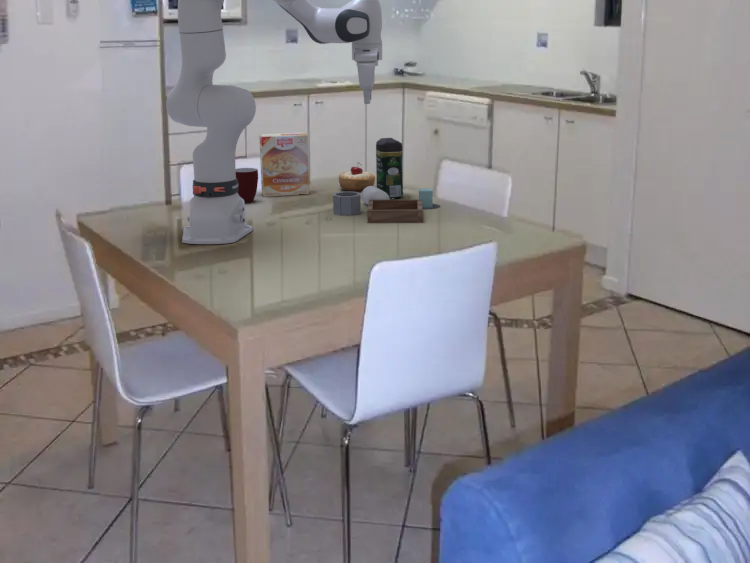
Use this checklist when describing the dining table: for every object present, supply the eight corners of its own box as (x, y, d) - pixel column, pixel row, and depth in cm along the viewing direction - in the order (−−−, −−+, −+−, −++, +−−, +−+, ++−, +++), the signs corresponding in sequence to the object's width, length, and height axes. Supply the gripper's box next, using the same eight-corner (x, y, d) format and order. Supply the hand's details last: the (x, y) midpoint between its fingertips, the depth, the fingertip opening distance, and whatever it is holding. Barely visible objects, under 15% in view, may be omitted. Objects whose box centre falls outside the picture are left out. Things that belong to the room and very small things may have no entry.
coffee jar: (374, 194, 296) (373, 136, 291) (397, 193, 298) (397, 135, 293) (380, 200, 287) (380, 140, 282) (405, 198, 289) (405, 139, 283)
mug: (221, 203, 286) (219, 171, 283) (233, 198, 293) (231, 167, 290) (252, 204, 283) (251, 172, 280) (263, 199, 290) (262, 168, 287)
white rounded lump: (393, 200, 273) (380, 186, 270) (379, 215, 273) (366, 201, 270) (383, 195, 281) (371, 181, 279) (370, 209, 281) (357, 195, 278)
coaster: (441, 211, 270) (441, 209, 270) (410, 211, 271) (410, 209, 271) (439, 205, 279) (439, 203, 279) (410, 205, 279) (410, 203, 279)
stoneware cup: (360, 217, 264) (359, 196, 262) (333, 217, 264) (332, 196, 263) (361, 211, 272) (360, 191, 270) (334, 211, 272) (334, 191, 270)
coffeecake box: (263, 197, 294) (260, 136, 289) (261, 193, 301) (258, 133, 295) (309, 194, 297) (307, 134, 292) (306, 190, 304) (304, 131, 299)
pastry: (334, 192, 301) (333, 165, 299) (345, 185, 312) (344, 159, 309) (369, 193, 298) (368, 166, 295) (379, 187, 309) (378, 160, 306)
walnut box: (422, 224, 254) (422, 210, 253) (367, 224, 255) (367, 210, 254) (421, 212, 269) (421, 199, 268) (369, 213, 269) (369, 199, 268)
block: (432, 207, 273) (432, 191, 271) (419, 207, 273) (419, 191, 271) (432, 204, 277) (432, 188, 275) (418, 204, 277) (418, 188, 275)
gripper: (357, 52, 276) (358, 98, 280) (354, 55, 257) (355, 105, 261) (378, 52, 276) (379, 98, 280) (377, 55, 257) (377, 105, 261)
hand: (367, 102), depth 270 cm, fingers open, 8 cm apart
